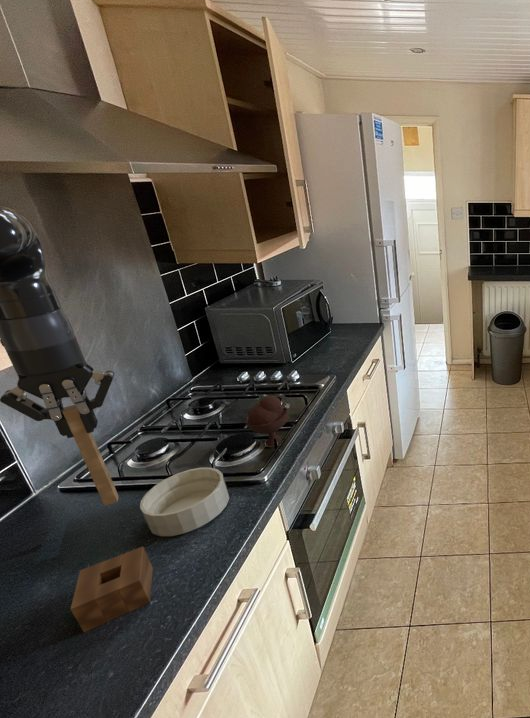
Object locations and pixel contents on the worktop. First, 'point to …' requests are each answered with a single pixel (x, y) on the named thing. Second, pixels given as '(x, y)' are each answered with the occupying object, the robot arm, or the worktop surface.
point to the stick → (91, 456)
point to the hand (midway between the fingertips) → (81, 432)
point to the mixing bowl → (184, 501)
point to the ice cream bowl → (267, 418)
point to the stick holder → (112, 589)
